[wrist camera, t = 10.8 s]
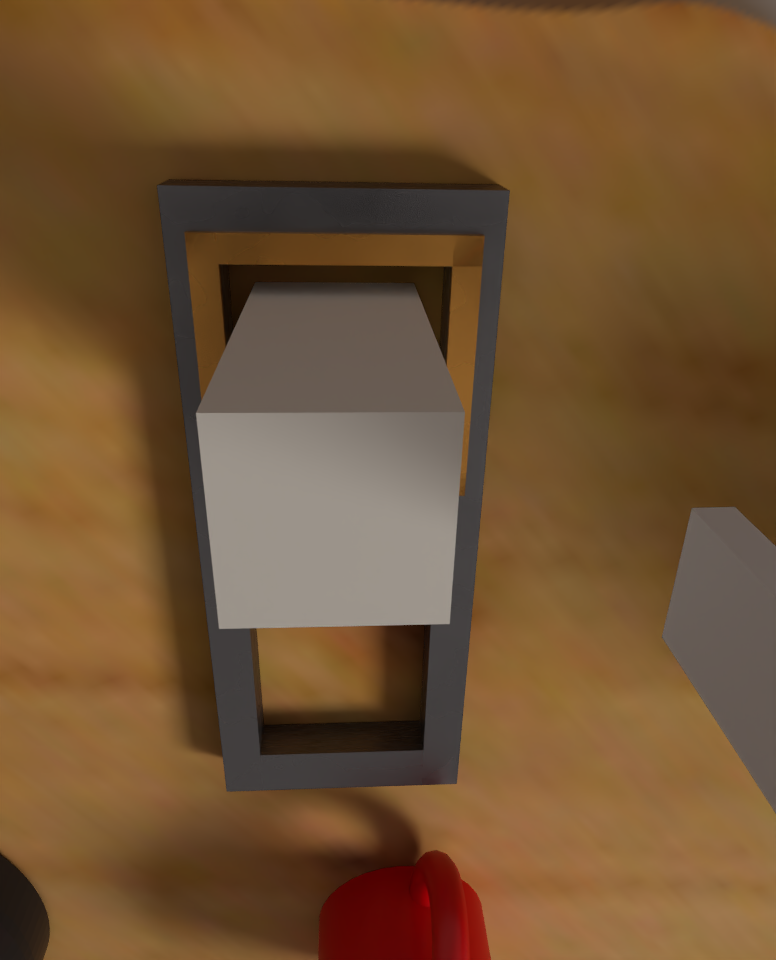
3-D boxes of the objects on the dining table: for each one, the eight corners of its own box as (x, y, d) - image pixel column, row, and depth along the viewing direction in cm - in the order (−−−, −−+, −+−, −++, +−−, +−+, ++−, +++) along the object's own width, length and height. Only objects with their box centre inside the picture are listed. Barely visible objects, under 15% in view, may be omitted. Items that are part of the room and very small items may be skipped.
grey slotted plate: (231, 760, 30) (226, 795, 29) (169, 179, 20) (155, 185, 18) (451, 753, 31) (457, 787, 29) (498, 184, 21) (511, 191, 19)
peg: (264, 428, 24) (218, 628, 15) (255, 282, 21) (195, 413, 13) (408, 427, 24) (449, 624, 15) (413, 282, 22) (464, 411, 13)
